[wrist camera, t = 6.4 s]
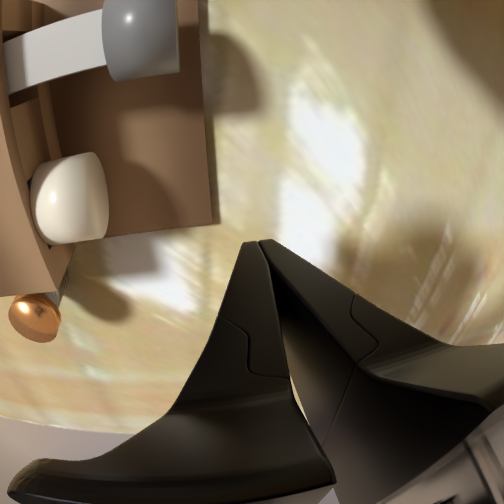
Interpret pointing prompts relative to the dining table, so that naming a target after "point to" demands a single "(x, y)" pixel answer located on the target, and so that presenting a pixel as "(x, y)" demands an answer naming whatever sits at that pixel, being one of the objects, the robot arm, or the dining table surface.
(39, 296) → the copper domed knob
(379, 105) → the dining table surface
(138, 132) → the walnut mount
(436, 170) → the dining table surface
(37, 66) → the graphite knob
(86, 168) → the cream knob
